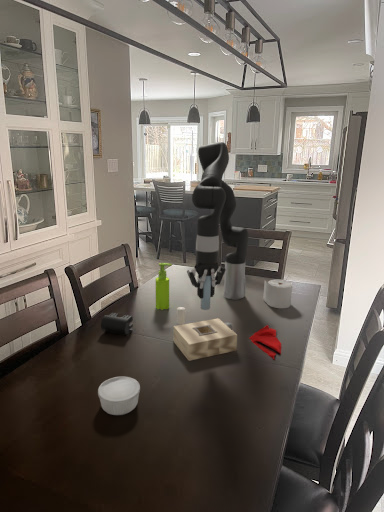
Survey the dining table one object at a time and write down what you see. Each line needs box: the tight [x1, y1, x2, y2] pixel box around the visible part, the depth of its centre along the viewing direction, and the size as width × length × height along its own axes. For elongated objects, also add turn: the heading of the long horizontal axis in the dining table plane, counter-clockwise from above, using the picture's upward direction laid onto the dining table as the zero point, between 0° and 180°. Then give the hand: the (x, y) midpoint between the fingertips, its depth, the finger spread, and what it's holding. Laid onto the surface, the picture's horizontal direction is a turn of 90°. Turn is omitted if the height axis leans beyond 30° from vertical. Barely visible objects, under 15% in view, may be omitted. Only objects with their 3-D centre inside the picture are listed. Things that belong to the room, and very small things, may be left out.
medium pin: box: [176, 306, 186, 326], centre depth 148 cm, size 3×3×8 cm
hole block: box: [172, 317, 238, 362], centre depth 134 cm, size 18×14×6 cm
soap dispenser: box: [155, 262, 173, 311], centre depth 164 cm, size 6×7×20 cm
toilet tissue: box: [262, 278, 293, 309], centre depth 171 cm, size 11×12×10 cm
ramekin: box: [97, 376, 141, 416], centre depth 103 cm, size 11×11×5 cm
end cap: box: [100, 312, 134, 336], centre depth 142 cm, size 10×7×7 cm
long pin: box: [200, 276, 212, 311], centre depth 129 cm, size 3×3×12 cm
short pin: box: [223, 321, 233, 330], centre depth 141 cm, size 3×3×5 cm
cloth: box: [248, 324, 282, 361], centre depth 139 cm, size 26×14×2 cm, turn 162°
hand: (205, 296), depth 130 cm, fingers closed on long pin, 3 cm apart
